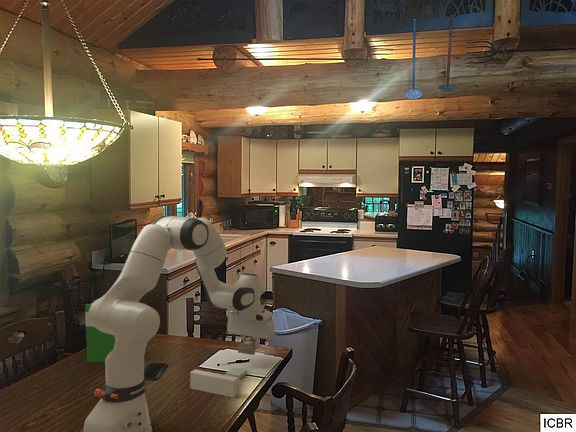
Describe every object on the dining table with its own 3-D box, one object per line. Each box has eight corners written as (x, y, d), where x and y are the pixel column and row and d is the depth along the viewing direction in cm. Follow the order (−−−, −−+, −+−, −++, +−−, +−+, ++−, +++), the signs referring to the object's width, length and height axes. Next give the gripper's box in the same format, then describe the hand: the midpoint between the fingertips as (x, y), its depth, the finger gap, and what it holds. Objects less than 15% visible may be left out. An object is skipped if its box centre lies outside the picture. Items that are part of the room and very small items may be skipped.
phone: (168, 363, 197) (157, 378, 182) (168, 366, 197) (157, 381, 182) (148, 363, 197) (136, 378, 182) (148, 365, 197) (136, 381, 182)
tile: (238, 380, 183) (238, 375, 183) (225, 377, 185) (225, 372, 185) (247, 374, 188) (247, 369, 188) (233, 372, 191) (233, 367, 191)
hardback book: (87, 361, 201) (85, 304, 199) (95, 355, 208) (93, 300, 206) (128, 363, 199) (126, 305, 197) (135, 356, 206) (134, 301, 204)
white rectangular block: (233, 397, 168) (233, 380, 167) (190, 388, 175) (190, 372, 174) (246, 387, 176) (246, 371, 175) (204, 379, 183) (204, 363, 183)
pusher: (253, 355, 191) (253, 345, 191) (238, 352, 194) (237, 342, 194) (264, 347, 200) (264, 337, 199) (249, 345, 203) (249, 335, 202)
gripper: (223, 312, 197) (224, 345, 198) (269, 317, 188) (269, 352, 189) (231, 308, 202) (232, 340, 204) (276, 313, 194) (276, 347, 195)
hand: (250, 346), depth 196 cm, fingers closed on pusher, 3 cm apart
